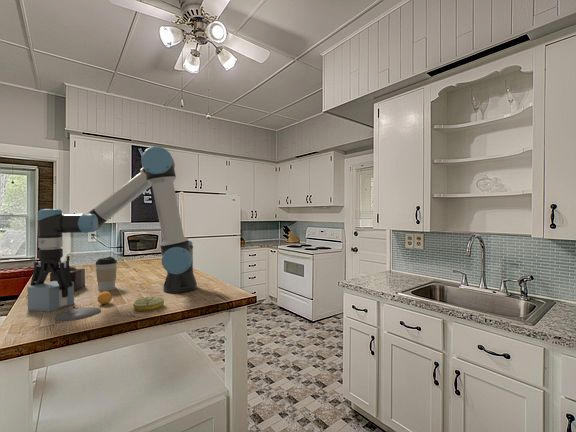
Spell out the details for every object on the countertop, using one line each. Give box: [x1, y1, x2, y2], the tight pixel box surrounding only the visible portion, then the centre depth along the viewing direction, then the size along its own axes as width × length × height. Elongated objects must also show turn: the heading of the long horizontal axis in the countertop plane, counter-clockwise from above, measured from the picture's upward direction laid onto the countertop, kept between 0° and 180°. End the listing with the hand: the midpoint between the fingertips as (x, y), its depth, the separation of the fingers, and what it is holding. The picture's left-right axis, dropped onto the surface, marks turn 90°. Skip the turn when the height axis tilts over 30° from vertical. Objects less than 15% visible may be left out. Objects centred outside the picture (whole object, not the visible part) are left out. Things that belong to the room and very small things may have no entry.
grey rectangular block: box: [27, 281, 75, 312], centre depth 118 cm, size 10×10×9 cm
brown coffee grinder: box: [49, 255, 86, 293], centre depth 142 cm, size 16×11×18 cm
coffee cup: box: [95, 256, 118, 292], centre depth 146 cm, size 9×9×15 cm
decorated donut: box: [132, 296, 165, 313], centre depth 116 cm, size 10×11×4 cm
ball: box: [97, 290, 113, 305], centre depth 121 cm, size 5×5×5 cm
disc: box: [53, 306, 102, 322], centre depth 110 cm, size 14×14×1 cm
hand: (51, 304), depth 119 cm, fingers closed on grey rectangular block, 10 cm apart
